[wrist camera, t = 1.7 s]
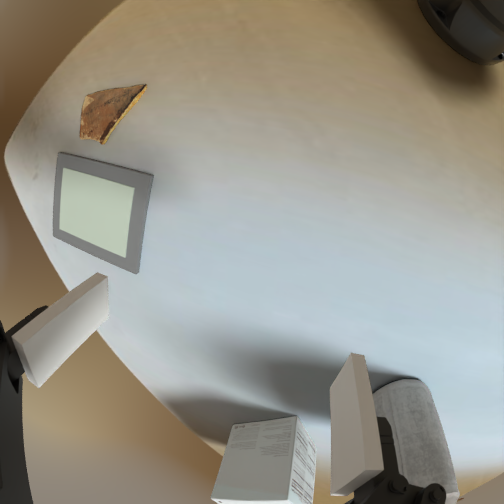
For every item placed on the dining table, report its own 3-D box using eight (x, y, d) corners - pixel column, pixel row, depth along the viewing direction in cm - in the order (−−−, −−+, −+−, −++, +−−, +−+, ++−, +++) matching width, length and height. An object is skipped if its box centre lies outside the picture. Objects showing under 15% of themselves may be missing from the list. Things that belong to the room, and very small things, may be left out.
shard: (152, 86, 29) (145, 83, 28) (146, 143, 32) (139, 143, 30) (90, 94, 31) (82, 93, 29) (86, 145, 33) (78, 145, 32)
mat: (61, 152, 34) (57, 152, 33) (153, 175, 33) (149, 176, 32) (56, 234, 39) (52, 236, 38) (138, 272, 38) (135, 275, 37)
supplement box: (259, 454, 50) (244, 519, 34) (231, 423, 47) (208, 498, 31) (317, 447, 46) (312, 519, 30) (297, 414, 43) (288, 500, 27)
